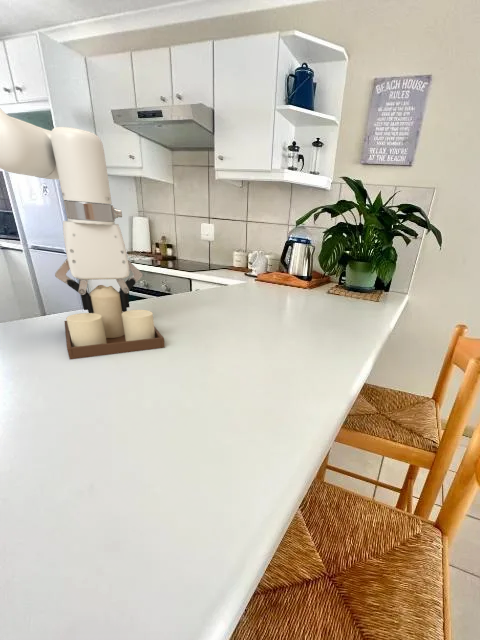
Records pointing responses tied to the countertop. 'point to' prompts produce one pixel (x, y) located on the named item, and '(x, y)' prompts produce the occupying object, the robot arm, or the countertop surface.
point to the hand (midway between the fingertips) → (107, 311)
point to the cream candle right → (138, 325)
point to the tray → (113, 346)
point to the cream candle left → (86, 329)
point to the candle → (108, 309)
